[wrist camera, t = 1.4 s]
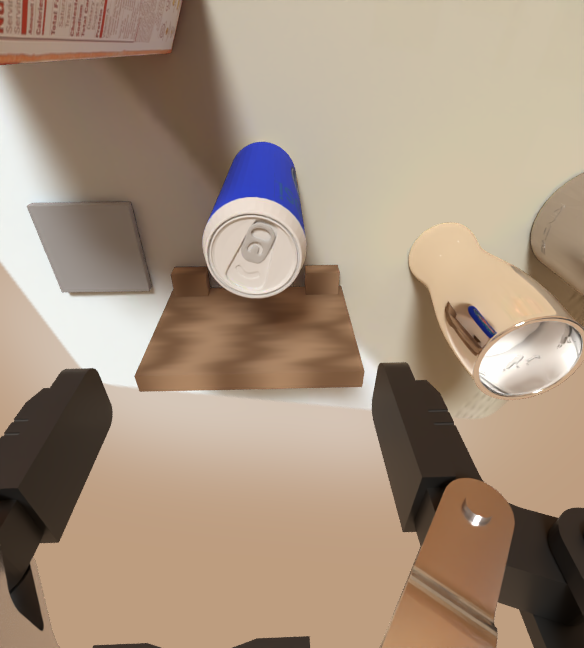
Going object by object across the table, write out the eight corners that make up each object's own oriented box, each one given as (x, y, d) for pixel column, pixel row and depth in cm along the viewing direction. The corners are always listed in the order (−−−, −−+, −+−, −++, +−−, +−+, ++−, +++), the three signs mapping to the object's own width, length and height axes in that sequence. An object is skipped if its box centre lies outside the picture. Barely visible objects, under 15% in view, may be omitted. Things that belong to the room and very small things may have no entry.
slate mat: (130, 202, 31) (127, 205, 30) (151, 286, 36) (149, 291, 35) (32, 202, 31) (26, 206, 30) (65, 287, 35) (62, 292, 35)
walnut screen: (342, 265, 35) (368, 346, 25) (338, 318, 38) (358, 407, 29) (169, 267, 35) (126, 351, 25) (180, 320, 38) (146, 412, 28)
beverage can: (281, 216, 32) (283, 316, 20) (223, 193, 31) (187, 284, 19) (306, 156, 29) (326, 229, 17) (243, 128, 28) (216, 185, 16)
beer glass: (496, 245, 34) (616, 350, 22) (437, 298, 37) (514, 416, 25) (445, 200, 32) (550, 291, 20) (387, 262, 35) (446, 373, 23)
